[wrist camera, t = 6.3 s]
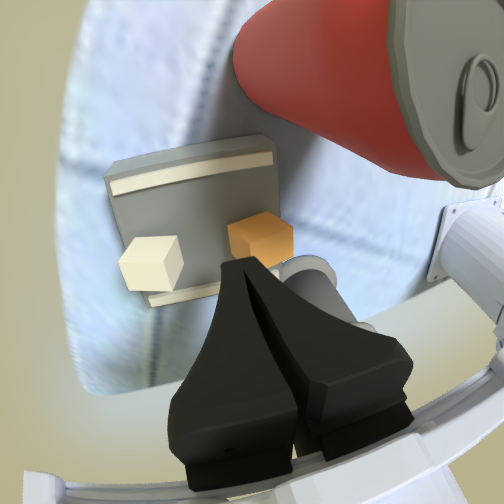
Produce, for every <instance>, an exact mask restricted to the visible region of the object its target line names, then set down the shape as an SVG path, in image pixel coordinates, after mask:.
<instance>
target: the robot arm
mask: <svg viewBox="0 0 504 504" xmlns="http://www.w3.org/2000/svg"><path fill="white" fill-rule="evenodd" d="M501 202H502V198H501V197H499V196H496V197H490V198H485V199H479V200H474V201H468V202H463V203H457V204H452V205H448V206H446V207H445V209H444V213H443V217H442V222H441V226H440V230H439V235H438V239H437V243H436V246H435V250H434V254H433V258H432V261H431V265H430V268H429V271H428V275H427V279H426V280H427V281H428V282H429V283H431V282H434V281H436V280H439V279H442V278H444V277H447V276H450V277H451V278H452V279H453V280H454V281H455V282H456V283H457V284H458V285H459V286H460V287H461V288H462V289H463V290H464V291H465V292H466V293H467V294H468V295H469V296H470V297H471V298H472V299H473V300H474V301H475V302H476V303H477V305H478V306H479V307H481V309H482V310H483V311H484V312H485V313H486V314H487V315H488V316H489V318H490V319H491V320H492V321H493V322H494V323H495V324H496V325H497V326H496V328H495V329H494V331H493V333H494V334H495V335H496V337H497V338H498V340H497V342H496V350H497V353H496V354H495V356H494V357H493V358H492V360H491V361H490V363H489V365H488V366H486V367H485V368H483V369H482V370H480V371H479V372H478V373H476V374H475V375H473V376H472V377H470V378H469V379H467V380H466V381H464V382H463V383H461V384H460V385H458V386H456V387H455V388H453V389H452V390H450V391H448V392H447V393H445V394H443V395H442V396H440V397H438V398H436V399H435V400H433V401H431V402H429V403H428V404H426V405H424V406H422V407H420V408H418V409H417V410H415V411H413V412H411V411H410V410H409V408H408V406H407V405H406V403H405V401H406V399H407V396H406V395H405V393H404V391H403V387H404V385H405V383H406V382H407V380H408V378H409V376H410V374H411V372H412V369H413V361H412V359H411V358H410V356H409V355H408V353H407V352H406V350H405V349H404V348H403V346H402V345H401V344H400V343H399V342H398V341H397V340H396V338H393V337H389V336H386V335H382V334H379V333H375V332H372V331H368V330H366V329H363V328H360V327H358V326H355V325H352V324H350V323H347V322H345V321H343V320H341V319H339V318H337V317H335V316H332V315H330V314H328V313H326V312H325V311H323V310H321V309H319V308H318V307H316V306H314V305H313V304H311V303H310V302H308V301H306V300H305V299H304V298H302V297H301V296H299V295H298V294H297V293H295V292H294V291H293V290H291V289H290V288H289V287H288V286H286V285H285V284H284V283H283V282H282V281H280V280H279V279H278V278H277V277H276V276H275V275H274V274H272V273H271V272H270V271H269V270H268V269H267V268H266V267H265V266H264V265H263V264H262V263H261V262H260V261H259V260H258V259H257V258H256V257H255V256H250V257H245V258H241V259H236V260H231V261H226V262H222V264H221V265H220V267H221V283H220V290H219V296H218V301H217V305H216V309H215V313H214V317H213V320H212V323H211V326H210V329H209V332H208V334H207V337H206V339H205V342H204V344H203V346H202V349H201V351H200V353H199V355H198V357H197V359H196V361H195V362H194V364H193V366H192V368H191V370H190V372H189V373H188V375H187V377H186V378H185V380H184V381H183V383H182V384H181V386H180V387H179V389H178V390H177V392H176V393H175V395H174V396H173V398H172V399H171V403H170V409H169V415H168V429H167V430H168V441H169V448H170V450H171V452H172V453H173V454H174V455H175V456H176V457H177V458H178V459H179V460H180V461H181V462H182V463H183V464H184V465H185V469H186V475H187V480H186V481H178V482H177V481H176V482H165V483H148V484H95V483H79V482H67V481H64V480H63V479H61V478H60V477H58V476H56V475H53V474H50V473H45V472H38V471H32V470H24V478H23V504H468V503H467V501H466V499H465V497H464V495H463V493H462V492H461V489H460V488H459V486H458V484H457V482H456V480H455V478H454V476H453V475H452V472H451V471H450V469H449V467H448V464H449V463H451V462H452V461H454V460H455V459H457V458H458V457H460V456H461V455H462V454H464V453H465V452H466V451H468V450H469V449H470V448H472V447H473V446H474V445H475V444H477V443H478V442H479V441H481V440H482V439H483V438H485V437H486V436H487V435H488V434H489V433H491V432H492V431H493V430H494V429H495V428H496V427H498V426H499V425H500V424H501V423H502V422H503V421H504V209H503V208H501V207H500V206H501ZM293 444H294V447H295V450H296V454H297V457H298V458H296V459H292V451H293ZM273 488H274V489H273ZM268 489H273V490H270V491H267V492H263V493H260V494H256V495H252V496H249V497H245V498H241V499H237V500H233V501H229V500H227V499H226V498H229V497H235V496H241V495H246V494H251V493H255V492H260V491H264V490H268Z"/></svg>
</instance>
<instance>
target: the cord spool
mask: <svg viewBox="0 0 504 504" xmlns="http://www.w3.org/2000/svg"><path fill="white" fill-rule="evenodd" d="M282 269H283V280H282V282H283V283H284V284H285V285H286V286H288V287H289V288H290V289H291V290H293V291H294V292H295V293H297V294H298V295H299V296H301V297H302V298H304V299H305V300H306V301H308V302H310V303H311V304H313V305H314V306H316V307H318V308H319V309H321V310H323V311H325V312H326V313H328V314H330V315H332V316H335V317H337V318H339V319H341V320H343V321H345V322H347V323H350V324H352V325H355V326H358V327H360V328H363V329H366V330H368V331H372V332H375V333H378V332H377V331H376V330H375V328H374V327H373V326H372V325H370V324H368V323H364V322H358V321H357V320H356V318H355V317H354V315H353V314H352V312H351V311H350V309H349V308H348V306H347V305H346V303H345V302H344V300H343V299H342V297H341V296H340V294H339V293H338V291H337V290H336V285H337V278H336V274H335V272H334V270H333V269H332V268H331V266H330V265H329V264H328V262H327V261H325V260H324V259H323V258H321V257H318V256H314V255H302V256H298V257H294V258H292V259H290V260H288V261H286V262H284V263H283V264H282Z"/></svg>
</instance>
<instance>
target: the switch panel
mask: <svg viewBox="0 0 504 504" xmlns="http://www.w3.org/2000/svg"><path fill="white" fill-rule="evenodd" d="M104 181H105V184H106V188H107V191H108V195H109V198H110V202H111V205H112V208H113V212H114V215H115V218H116V221H117V224H118V227H119V231H120V234H121V237H122V240H123V243H124V245H125V248H126V249H127V248H128V247H129V245H130V244H131V242H132V241H133V239H134V238H135V237H154V236H176V235H177V238H178V242H179V246H180V250H181V254H182V258H183V262H184V265H183V268H182V270H181V272H180V275H179V277H178V280H177V282H176V284H175V287H174V289H173V291H141V292H142V294H143V297H144V299H145V302H146V304H147V306H148V308H153V307H158V306H164V305H169V304H174V303H179V302H184V301H189V300H194V299H199V298H204V297H208V296H213V295H218V294H219V290H220V283H221V267H220V265H221V264H222V262H226V261H231V260H236V258H235V257H234V256H233V255H232V254H231V248H230V241H229V234H228V227H227V225H229V224H232V223H235V222H238V221H240V220H243V219H246V218H249V217H252V216H254V215H257V214H260V213H263V212H266V211H268V212H270V213H272V214H273V215H275V216H276V217H278V218H280V199H279V181H278V163H277V147H276V143H275V142H273V141H272V140H270V139H269V138H267V137H266V136H265V135H263V134H256V135H249V136H241V137H234V138H228V139H221V140H215V141H209V142H203V143H198V144H192V145H187V146H182V147H177V148H172V149H167V150H162V151H158V152H153V153H149V154H144V155H140V156H136V157H132V158H128V159H124V160H120V161H116V162H113V164H112V165H111V167H110V168H109V170H108V171H107V172H106V174H105V176H104ZM267 269H268V270H269V271H270V272H271V273H272V274H274V275H275V276H276V277H277V278H278V279H279V280H280V281H282V280H283V269H282V262H280V263H278V264H276V265H274V266H271V267H269V268H267Z"/></svg>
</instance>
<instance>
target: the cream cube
mask: <svg viewBox="0 0 504 504" xmlns="http://www.w3.org/2000/svg"><path fill="white" fill-rule="evenodd" d="M118 264H119V267H120V269H121V272H122V274H123V277H124V279H125V282H126V284H127V287H128V289H129V291H173V289H174V287H175V284H176V282H177V280H178V277H179V275H180V272H181V270H182V268H183V265H184V262H183V258H182V254H181V250H180V246H179V242H178V238H177V235H176V236H154V237H135V238H134V239H133V241H132V242H131V244H130V245H129V247H128V248H127V249H126V251H125V252H124V254H123V255H122V257H121V258H120V260H119V261H118Z"/></svg>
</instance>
